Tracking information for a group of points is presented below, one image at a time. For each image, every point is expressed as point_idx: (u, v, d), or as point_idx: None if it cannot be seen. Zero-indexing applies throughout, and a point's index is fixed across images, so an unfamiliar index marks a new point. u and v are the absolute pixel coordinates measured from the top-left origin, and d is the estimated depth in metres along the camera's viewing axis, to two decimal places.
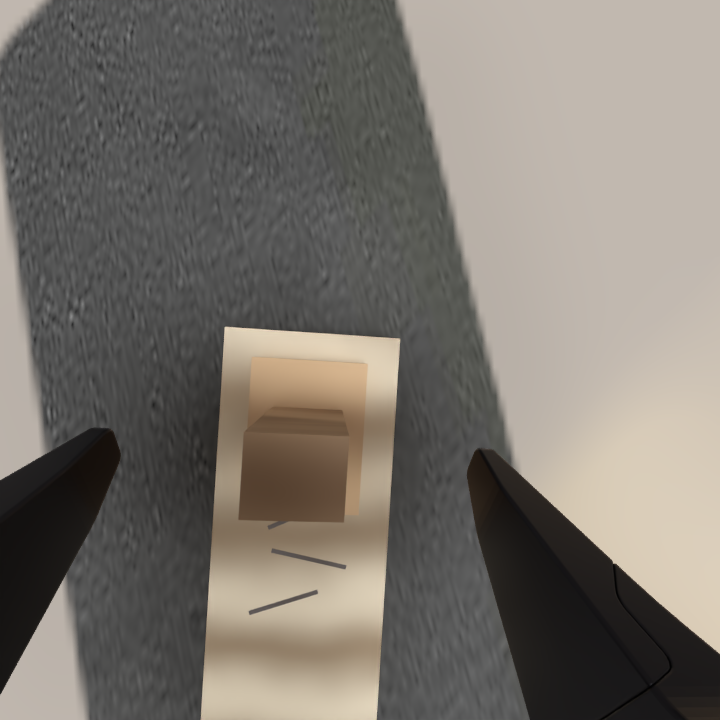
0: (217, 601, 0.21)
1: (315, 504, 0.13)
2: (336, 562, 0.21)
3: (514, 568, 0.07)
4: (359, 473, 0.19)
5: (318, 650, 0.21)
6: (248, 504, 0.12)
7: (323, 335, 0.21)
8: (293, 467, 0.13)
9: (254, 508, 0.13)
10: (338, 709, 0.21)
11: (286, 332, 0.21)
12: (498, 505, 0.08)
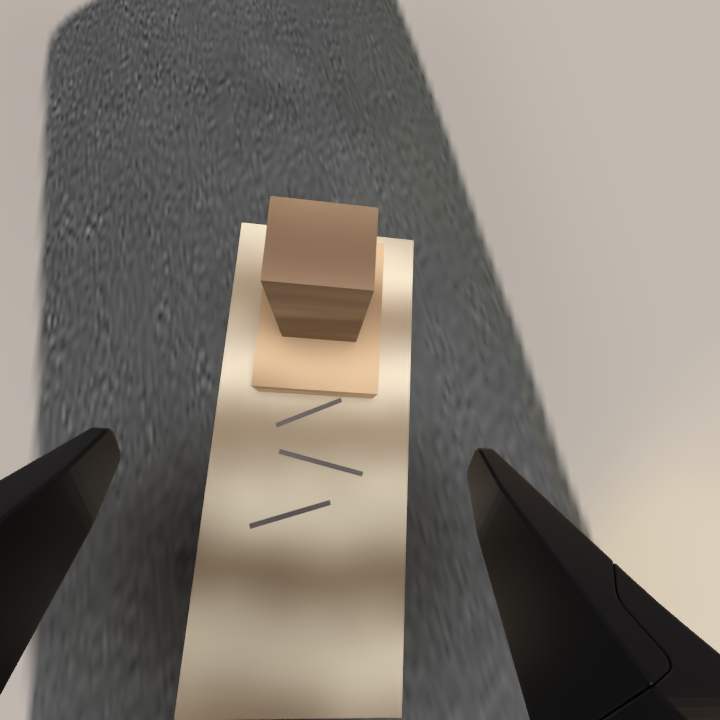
0: (213, 510, 0.18)
1: (343, 270, 0.12)
2: (351, 468, 0.19)
3: (514, 568, 0.07)
4: (378, 350, 0.18)
5: (330, 577, 0.18)
6: (272, 265, 0.12)
7: None
8: (320, 232, 0.12)
9: (278, 269, 0.12)
10: (354, 660, 0.17)
11: None
12: (498, 505, 0.08)
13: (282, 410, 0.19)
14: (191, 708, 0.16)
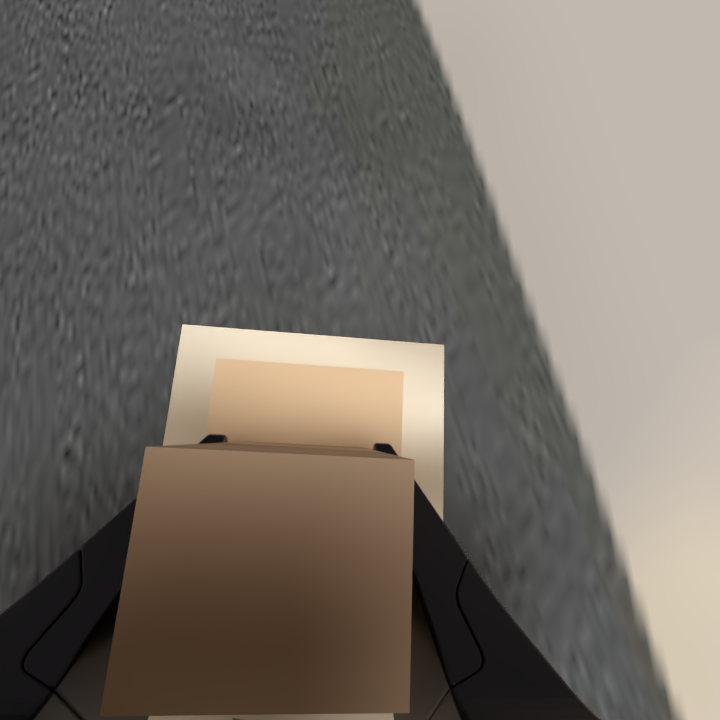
0: None
1: (329, 656, 0.05)
2: None
3: None
4: None
5: None
6: (136, 661, 0.04)
7: (331, 338, 0.14)
8: (270, 544, 0.05)
9: (152, 672, 0.04)
10: None
11: (275, 334, 0.14)
12: None
13: None
14: None
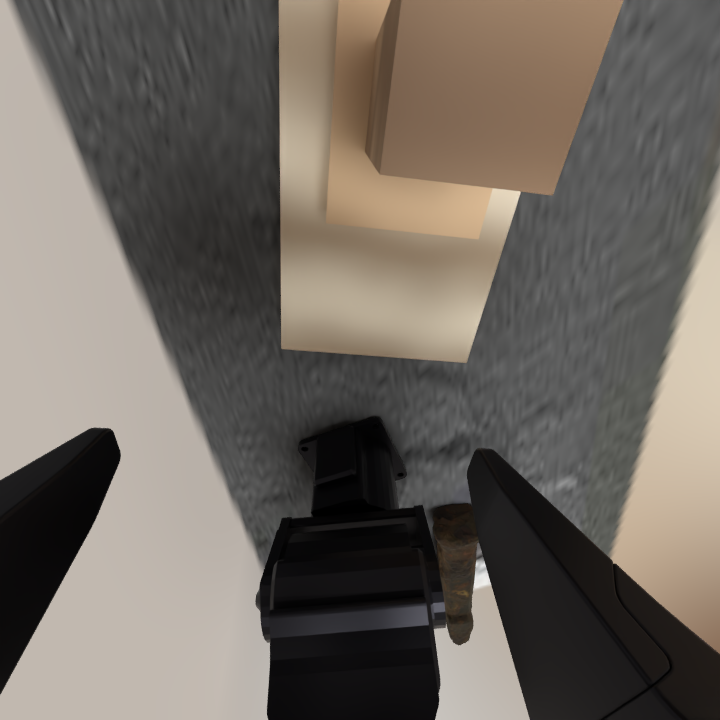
0: (293, 167, 0.15)
1: (514, 155, 0.07)
2: None
3: (514, 568, 0.07)
4: None
5: (422, 252, 0.17)
6: (399, 145, 0.07)
7: None
8: (491, 68, 0.06)
9: (408, 152, 0.07)
10: (434, 322, 0.19)
11: None
12: (498, 505, 0.08)
13: None
14: (294, 342, 0.19)
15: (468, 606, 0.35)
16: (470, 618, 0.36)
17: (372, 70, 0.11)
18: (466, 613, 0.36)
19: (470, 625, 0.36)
